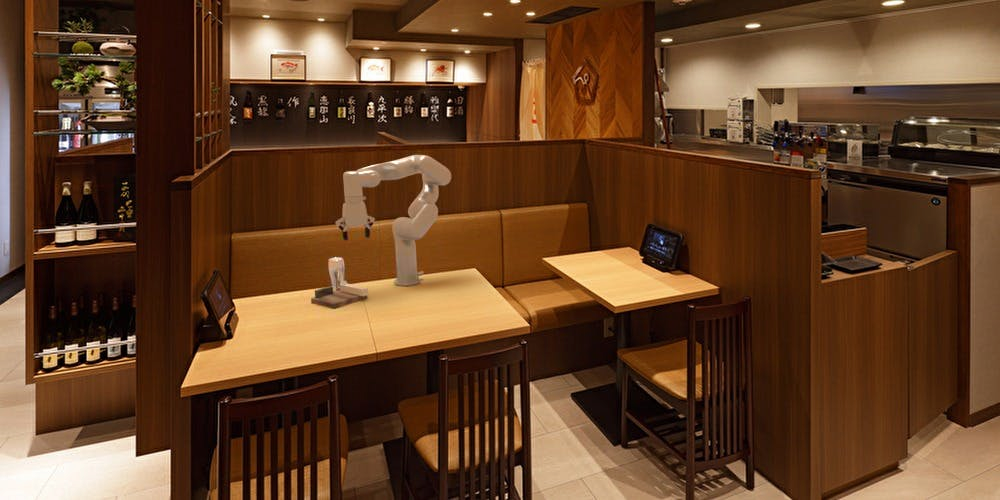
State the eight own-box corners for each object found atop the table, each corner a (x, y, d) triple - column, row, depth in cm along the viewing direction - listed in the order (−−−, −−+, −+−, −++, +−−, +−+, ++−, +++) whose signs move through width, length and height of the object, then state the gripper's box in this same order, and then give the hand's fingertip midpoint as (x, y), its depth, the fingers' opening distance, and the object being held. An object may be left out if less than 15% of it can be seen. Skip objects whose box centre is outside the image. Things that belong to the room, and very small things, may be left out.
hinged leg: (340, 291, 251) (339, 281, 250) (345, 289, 253) (344, 279, 252) (363, 296, 242) (362, 286, 241) (368, 294, 245) (367, 284, 244)
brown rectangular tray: (344, 292, 256) (343, 281, 255) (367, 297, 248) (366, 286, 247) (311, 302, 242) (310, 291, 241) (334, 308, 234) (333, 297, 232)
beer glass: (342, 293, 255) (339, 260, 252) (327, 292, 257) (325, 260, 253) (348, 288, 262) (346, 257, 259) (335, 288, 263) (332, 256, 260)
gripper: (370, 197, 252) (372, 235, 256) (331, 200, 243) (334, 239, 247) (376, 199, 246) (378, 237, 250) (336, 202, 237) (339, 242, 241)
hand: (356, 238), depth 248 cm, fingers open, 9 cm apart
